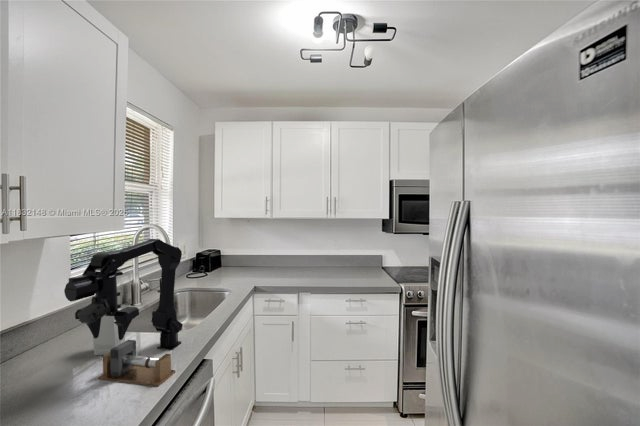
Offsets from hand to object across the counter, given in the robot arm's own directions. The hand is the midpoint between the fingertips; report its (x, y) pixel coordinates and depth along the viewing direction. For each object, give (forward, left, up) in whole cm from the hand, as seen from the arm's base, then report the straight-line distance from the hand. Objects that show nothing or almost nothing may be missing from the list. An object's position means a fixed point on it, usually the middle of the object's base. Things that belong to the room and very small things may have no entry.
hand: (108, 338), depth 98 cm
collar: (-2, +3, -11) cm, 12 cm away
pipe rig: (-2, +8, -13) cm, 15 cm away
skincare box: (-15, -16, -13) cm, 25 cm away
